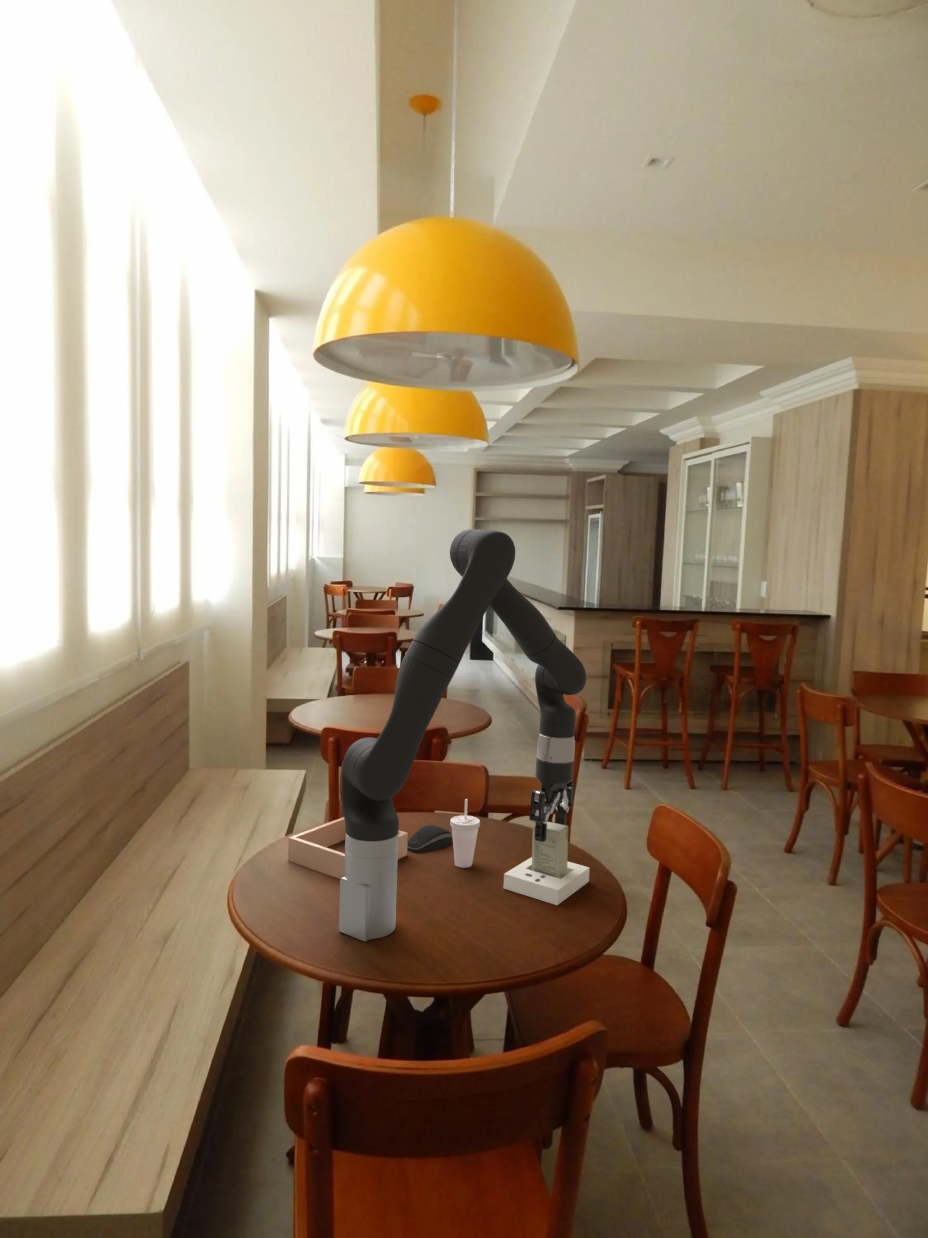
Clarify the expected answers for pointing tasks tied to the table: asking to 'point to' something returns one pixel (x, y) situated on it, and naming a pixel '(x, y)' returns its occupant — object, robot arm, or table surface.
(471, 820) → the smoothie
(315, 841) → the pink square tray
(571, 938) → the table surface
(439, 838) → the computer mouse
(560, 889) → the socket board
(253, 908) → the table surface
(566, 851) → the skincare box
